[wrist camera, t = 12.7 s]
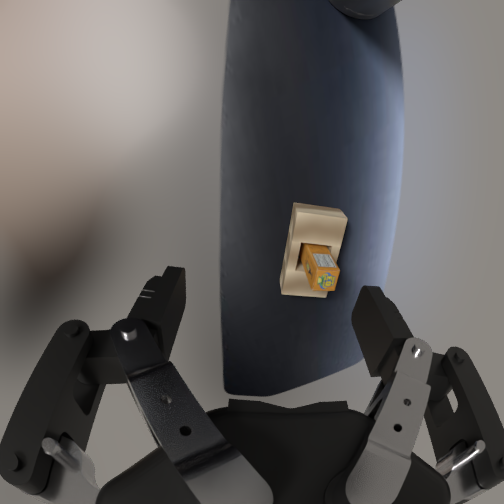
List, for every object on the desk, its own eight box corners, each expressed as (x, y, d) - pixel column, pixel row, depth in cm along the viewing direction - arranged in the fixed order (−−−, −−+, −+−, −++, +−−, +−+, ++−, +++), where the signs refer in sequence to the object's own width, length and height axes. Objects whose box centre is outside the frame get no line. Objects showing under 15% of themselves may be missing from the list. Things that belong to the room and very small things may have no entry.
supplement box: (319, 256, 43) (334, 293, 34) (298, 254, 43) (308, 292, 34) (324, 236, 41) (341, 271, 33) (302, 234, 41) (314, 269, 32)
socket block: (293, 202, 39) (297, 211, 36) (339, 209, 39) (347, 218, 36) (279, 279, 45) (281, 294, 41) (321, 283, 45) (325, 297, 42)
